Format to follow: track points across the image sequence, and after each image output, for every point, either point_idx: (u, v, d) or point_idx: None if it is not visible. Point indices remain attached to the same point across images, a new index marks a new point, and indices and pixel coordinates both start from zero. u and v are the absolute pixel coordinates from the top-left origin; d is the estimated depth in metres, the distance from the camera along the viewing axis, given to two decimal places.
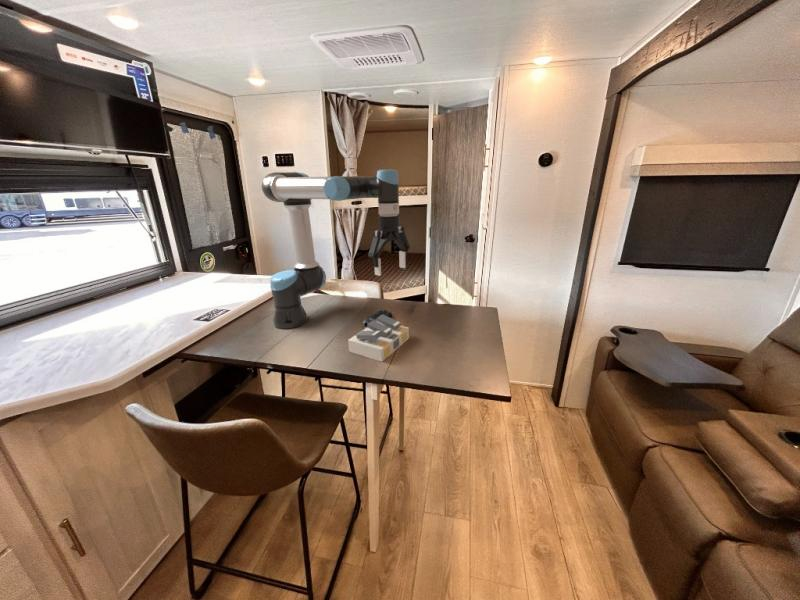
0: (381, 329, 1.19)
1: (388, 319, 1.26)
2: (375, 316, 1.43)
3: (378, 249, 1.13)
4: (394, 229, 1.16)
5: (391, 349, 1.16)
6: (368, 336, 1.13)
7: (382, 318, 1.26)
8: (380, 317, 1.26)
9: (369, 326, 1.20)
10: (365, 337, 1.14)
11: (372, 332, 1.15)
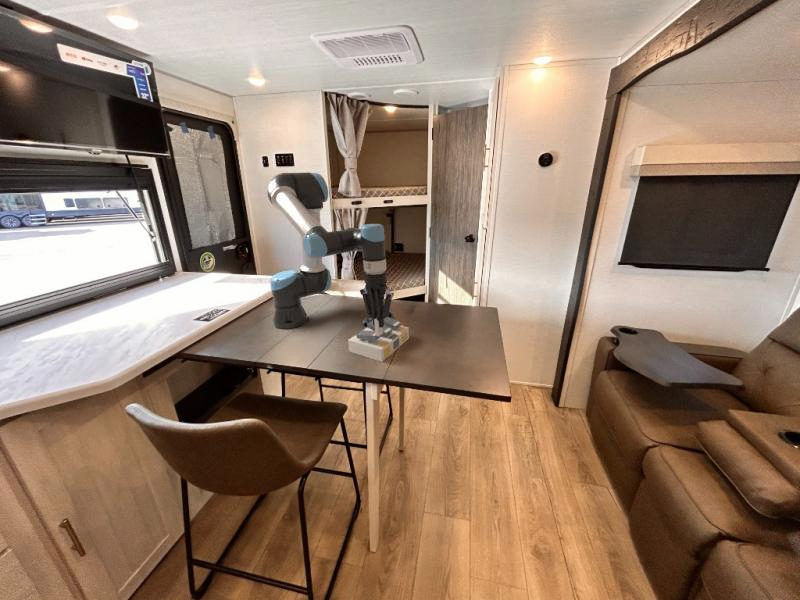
0: None
1: (388, 319, 1.26)
2: None
3: None
4: (379, 285, 1.04)
5: (391, 349, 1.16)
6: (368, 336, 1.13)
7: None
8: None
9: (369, 326, 1.20)
10: (365, 337, 1.14)
11: (372, 332, 1.15)
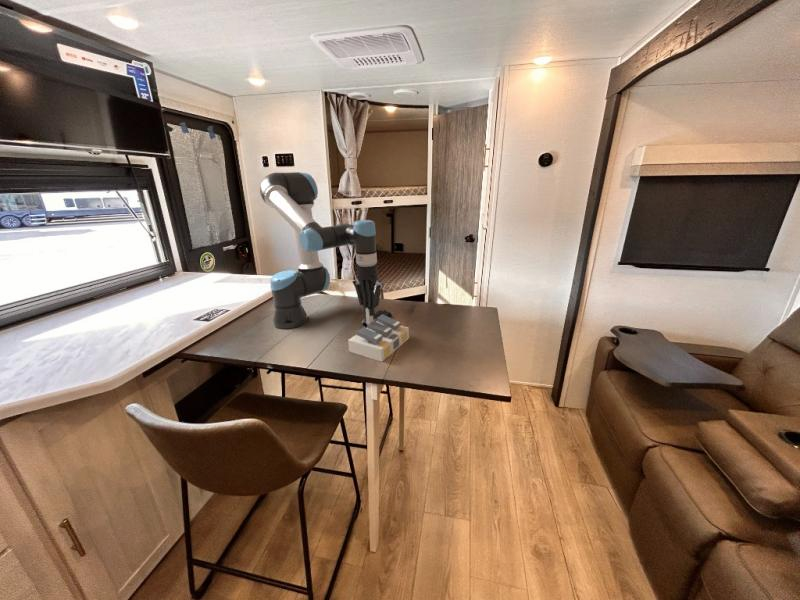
0: (381, 329, 1.19)
1: (388, 319, 1.26)
2: (374, 316, 1.43)
3: None
4: (370, 277, 1.13)
5: (391, 349, 1.16)
6: (369, 338, 1.13)
7: (382, 318, 1.26)
8: (380, 317, 1.26)
9: (369, 326, 1.20)
10: (366, 337, 1.14)
11: (373, 334, 1.15)
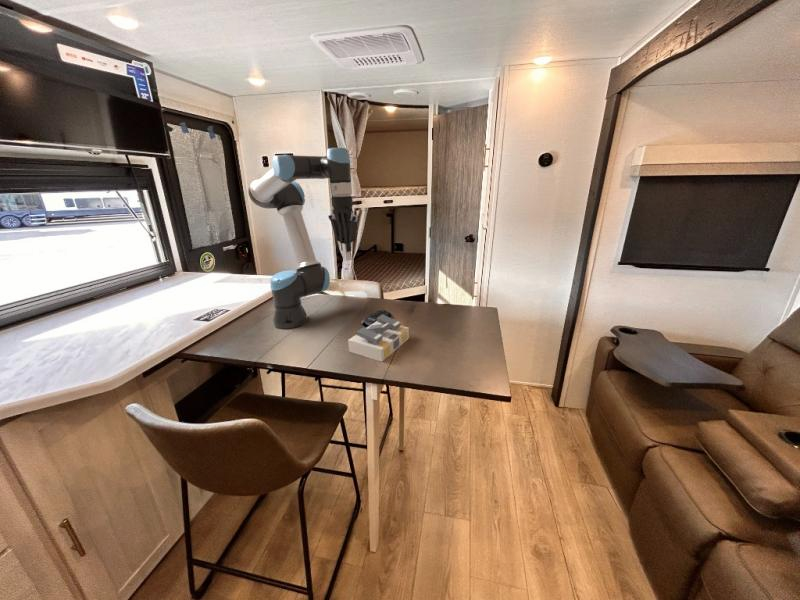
0: (379, 327, 1.19)
1: (388, 319, 1.26)
2: (374, 316, 1.43)
3: None
4: (345, 208, 1.11)
5: (391, 349, 1.16)
6: (369, 338, 1.13)
7: (382, 318, 1.26)
8: (380, 317, 1.26)
9: None
10: (366, 337, 1.14)
11: (373, 334, 1.15)
